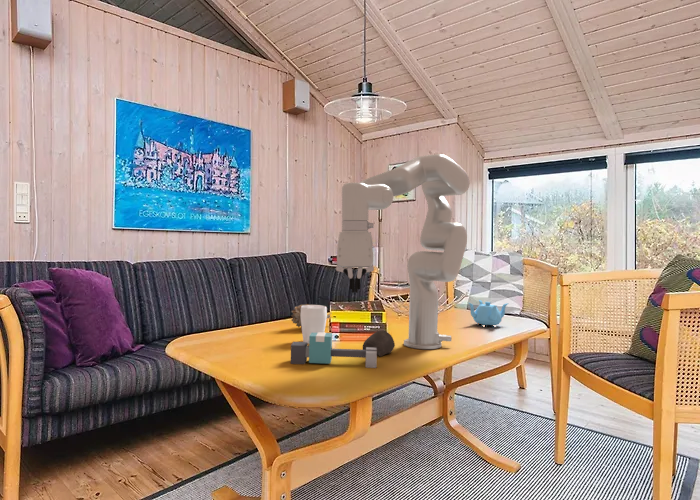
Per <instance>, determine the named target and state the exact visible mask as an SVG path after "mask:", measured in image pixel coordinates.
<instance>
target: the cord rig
mask: <svg viewBox="0 0 700 500" xmlns="http://www.w3.org/2000/svg"><path fill="white" fill-rule="evenodd" d="M331 356H332V357H333V358H334V357H336V358H337V357H341V358H364V359H365V368H368V369H376V368H377V365H378V364H377V361H378V358H377V357H378V354H377V349H376V348H371V347H366V350H363V349H357V348H356V349H355V348H354V349H353V348H332V349H331ZM308 358H309V345H308V343H307V342H303V341H293V342H292V343H291V344H290V365H306V363H307V360H308Z"/></svg>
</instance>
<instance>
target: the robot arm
mask: <svg viewBox="0 0 700 500" xmlns="http://www.w3.org/2000/svg"><path fill="white" fill-rule="evenodd" d="M470 181H471V180H470V177H469V175H468V173H467V171H466V170H465V169H464V168H462V167H461V165H460V164H458V163H456V161H454V160H453V159H452V158H451V157H449V156H448V155H445V154H439V153H437V154H430V155H422V156H417V157H414V158H413V159H411V160H409V161H406V162H405V163H403V164H401V165H399V166H397V167H395V168H393V169H391V170H387V171H385V172H381V173H379V174H377V175H374V176H371V177H369V178H366V179H365V178H364V179H363V180H362V181H359V182H347V183H346V182H345V184H343V185H342V187H341V231H339V233H338V239H337V246H336V247H337V248H336V268H335V270H336V272H340V273H344V274H345V275H346V276H347V277H348V278H349V290H351V293H352V294H355V293H359V290H361V278H362V277H363V276H364V275H365V274H367V273H370V272H371V273H372V272H374V271H375V267H374V245H373V243H374V242H373V237H372V235H373V234H372V232H369V230H370V229H374V227H375V226H374V223H373V222H370V221H369V211H379V210H381V211H382V210H385V209H387V208H389V207H390V206H392V204H393V201H394V197H398V196H403V195H405V194H408V193H410V192H412V191H413V190H415V189H416V188H417V187H419V186H421V190H422V192H423V194H424V198H425V200H426V204H427V212H426V215H425V216H426V217H425V219H424V223H423V226H422V229H421V233H420V236H419V237H420V238H419V242H420V245H421V247H422V248H424V249H425V251H424V250H423V251H417V252H414V253H412V254H411V255H409V257H408V259H407V265H406V266H407V273H408V274H407V275H408V280H409V306H408V307H409V308H408V309H409V311H408V312H409V313H408V318H409V319H408V338H406V339H404V340H403V346H405V347H408V348H411V349H418V350H436V349H439V348H441V347H443V346H442V344H443V343H442V342H452V335H447V334H440V333H439V331H438V317H439V292H438V287H437V286H436V284H435V282H440V283H441V282H443V283H445V282H446V283H450V282H453V281H454V280H456V279H457V277H458V276H459V273H460V269H461V265H462V262H463V260H464V259H463V258H464V255H465V251H466V249H467V248H466V247H467V243H468V234H467V233H468V232H467V230H466V227H465V226H464V225H463V224H462V223H459V222H454V221H453V222H451V221H452V217H453V210H452V207H451V205H450V203H449V202H448V200H447V199H446V197H447V196H450V197H451V196H461V195H463V194H465V193H467V191H468V190H469V188H470V183H471V182H470ZM426 250H428V251H426ZM429 250H430V251H429ZM353 268H357V272H356V276H355V275H354V274H353Z"/></svg>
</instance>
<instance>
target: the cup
mask: <svg viewBox="0 0 700 500" xmlns="http://www.w3.org/2000/svg"><path fill="white" fill-rule="evenodd" d="M303 305H304V306H301V314H300V317H301V326H302V328H301V333H302V342H307V345H309V336H310V334H311V333H318V332H324V333H325V329H326V325H327V319H328V318H327V315H328V313H327V312H328V311H327V310H328V308H327V306H326V305H321V304H309V305H305V304H303ZM301 326H300V327H301Z"/></svg>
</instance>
